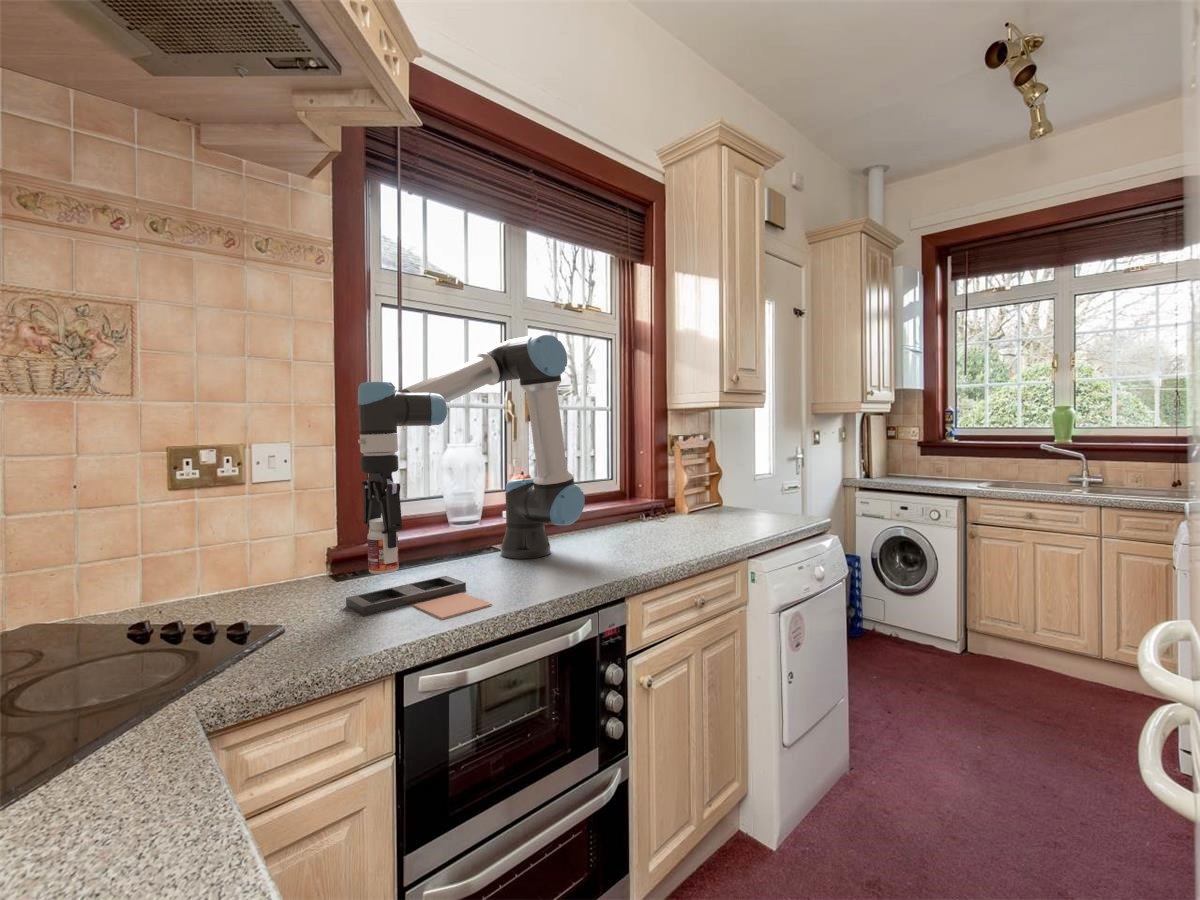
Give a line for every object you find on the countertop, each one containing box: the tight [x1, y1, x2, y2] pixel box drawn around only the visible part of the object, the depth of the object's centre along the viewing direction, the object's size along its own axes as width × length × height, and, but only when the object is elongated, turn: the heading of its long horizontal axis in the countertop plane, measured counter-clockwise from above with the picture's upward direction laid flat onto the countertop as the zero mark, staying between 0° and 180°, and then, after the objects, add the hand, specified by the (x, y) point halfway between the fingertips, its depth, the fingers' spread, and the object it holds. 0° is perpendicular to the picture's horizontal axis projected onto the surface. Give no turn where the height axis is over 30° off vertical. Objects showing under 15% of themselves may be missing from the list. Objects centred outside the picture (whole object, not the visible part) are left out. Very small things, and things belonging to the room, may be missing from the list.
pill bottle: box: [366, 517, 400, 575], centre depth 118 cm, size 6×6×11 cm
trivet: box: [412, 592, 493, 621], centre depth 117 cm, size 12×12×1 cm
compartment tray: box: [345, 575, 467, 617], centre depth 122 cm, size 24×9×2 cm, turn 136°
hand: (383, 559), depth 118 cm, fingers closed on pill bottle, 6 cm apart
